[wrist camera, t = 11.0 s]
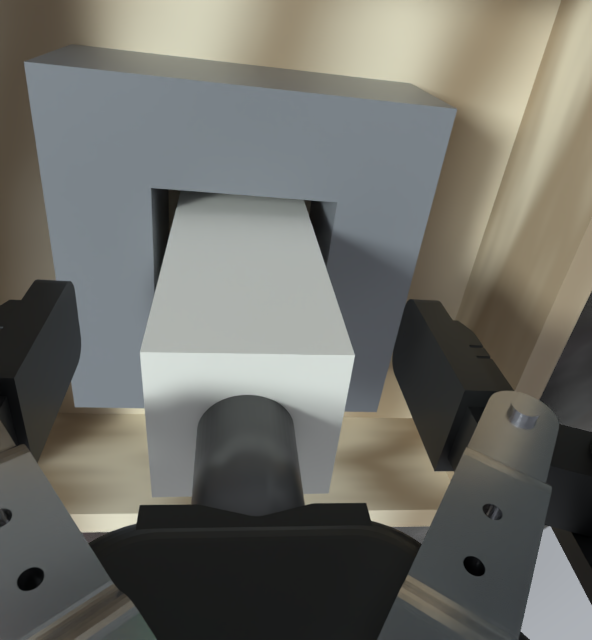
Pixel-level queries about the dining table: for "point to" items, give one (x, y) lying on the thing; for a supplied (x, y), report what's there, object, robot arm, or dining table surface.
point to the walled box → (439, 237)
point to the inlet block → (227, 188)
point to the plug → (243, 357)
